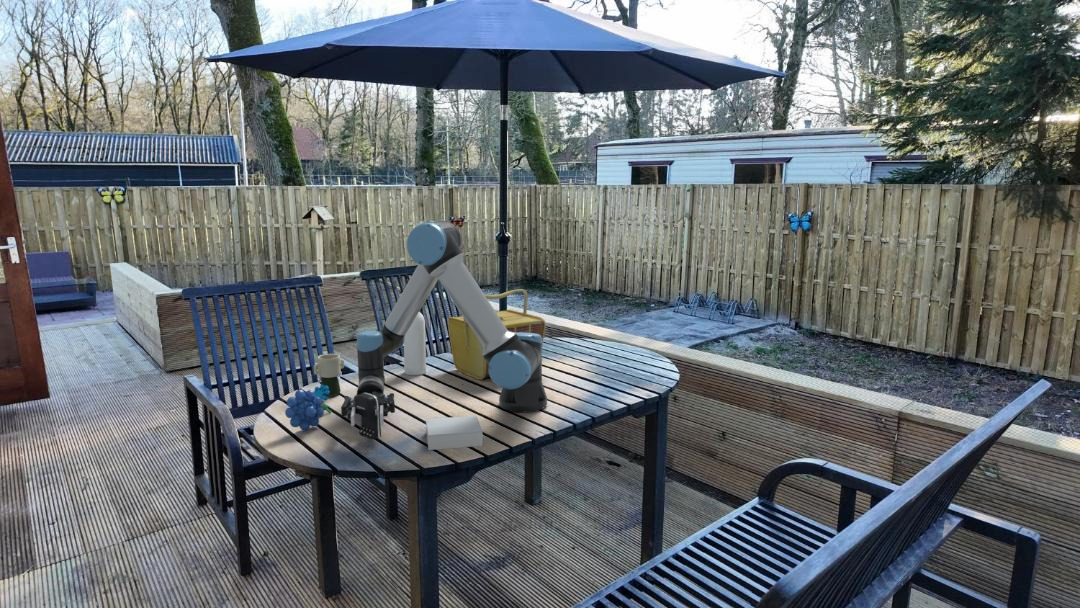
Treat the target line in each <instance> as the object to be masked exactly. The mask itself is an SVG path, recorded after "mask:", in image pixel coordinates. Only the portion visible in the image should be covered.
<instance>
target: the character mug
mask: <svg viewBox="0 0 1080 608" xmlns="http://www.w3.org/2000/svg"><path fill="white" fill-rule="evenodd" d="M316 359H317V363H316V364H314V365H313V373H314V375H318V376H319V377H321V379H320V380H321V381H320V382H321V383H320V386H321V385H324V386H326V385H327V386H328V387H329V389H328V390H329V391H330V393H329V394H328V395H327V394H325V395H324V396H327V397H328V396H331V397H332V396H337V395H339V394H340V393H341V386H340V381H339V376H340V375H341V373H342V371H341V369H344V368H345V360H344V358H341V355H340V354H338V353H326V354H320V355H318V356H317V358H316ZM325 391H326V390H325Z"/></svg>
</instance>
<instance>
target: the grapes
mask: <svg viewBox="0 0 1080 608" xmlns="http://www.w3.org/2000/svg"><path fill="white" fill-rule="evenodd" d="M314 391H315V390H312V389H308V390H306V391H305V390H303V389H298V390H296V392H295V393H294V396H289V397H288V398H287V400H286V401H287V402H286V404H287V406H288V407H287V408H286V409H285V410H284V415H285V417H287V418H288V419H290V420H289V424H290V426H291V427H293V428H300V430H301V431H308V430H309V429H310V427H317V426H318V425H319V424H320V419H319V418H322V417H323V416H324V414H325V410H323V409H322V408H321V407H320V406H321V405H322V404H323V402H324V401H323V400H322V399H321V398H320V397H316V395H315V392H314ZM322 401H323V402H322Z"/></svg>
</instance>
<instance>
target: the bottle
mask: <svg viewBox="0 0 1080 608" xmlns="http://www.w3.org/2000/svg"><path fill="white" fill-rule="evenodd" d="M426 349H427V348H426V320H425V317H424V315H423V314H422V313H421V311H419V313H418V314H417V316H416V318H415V319H414V321H413V323H412V324H411V326H410V328H409V329H408V331H407V333H406V335H405V336H404V343H403V354H404V355H403V358H404V361H403V362H404V365H403V367H404V374H405V375H407V376H422V375H425V374H426V373H427V361H426V359H427V356H426V355H427V354H426V352H427V351H426Z"/></svg>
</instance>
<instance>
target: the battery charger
mask: <svg viewBox="0 0 1080 608" xmlns="http://www.w3.org/2000/svg"><path fill="white" fill-rule="evenodd" d="M355 396H356V395H355ZM355 412H356V415H359V416H360V422H361V423H360V429H359V431H358V432H359V435H360V436H362V437H364V438H366V439H368V440H374V439H380V438H381V437H382V429H381V427H382V426H381V425H382V424H380V402H379V398H378V397H377V396H375V395H373V394H370V393H363V394H360V395H358V396H356V398H355Z"/></svg>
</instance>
